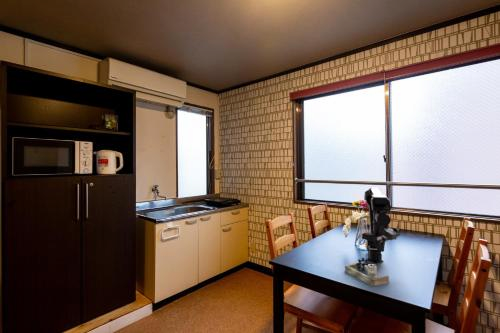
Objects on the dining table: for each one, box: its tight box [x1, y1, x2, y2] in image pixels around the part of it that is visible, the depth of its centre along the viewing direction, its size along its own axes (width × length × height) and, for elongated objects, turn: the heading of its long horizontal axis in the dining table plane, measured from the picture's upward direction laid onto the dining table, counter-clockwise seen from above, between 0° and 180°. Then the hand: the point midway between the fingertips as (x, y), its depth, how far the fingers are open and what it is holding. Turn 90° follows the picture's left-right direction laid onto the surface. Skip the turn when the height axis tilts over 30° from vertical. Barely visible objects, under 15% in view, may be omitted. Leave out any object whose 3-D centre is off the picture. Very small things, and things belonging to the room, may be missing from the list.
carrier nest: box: [344, 262, 390, 288], centre depth 119 cm, size 17×10×3 cm, turn 22°
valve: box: [355, 257, 378, 278], centre depth 120 cm, size 7×7×12 cm
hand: (379, 252), depth 122 cm, fingers closed
